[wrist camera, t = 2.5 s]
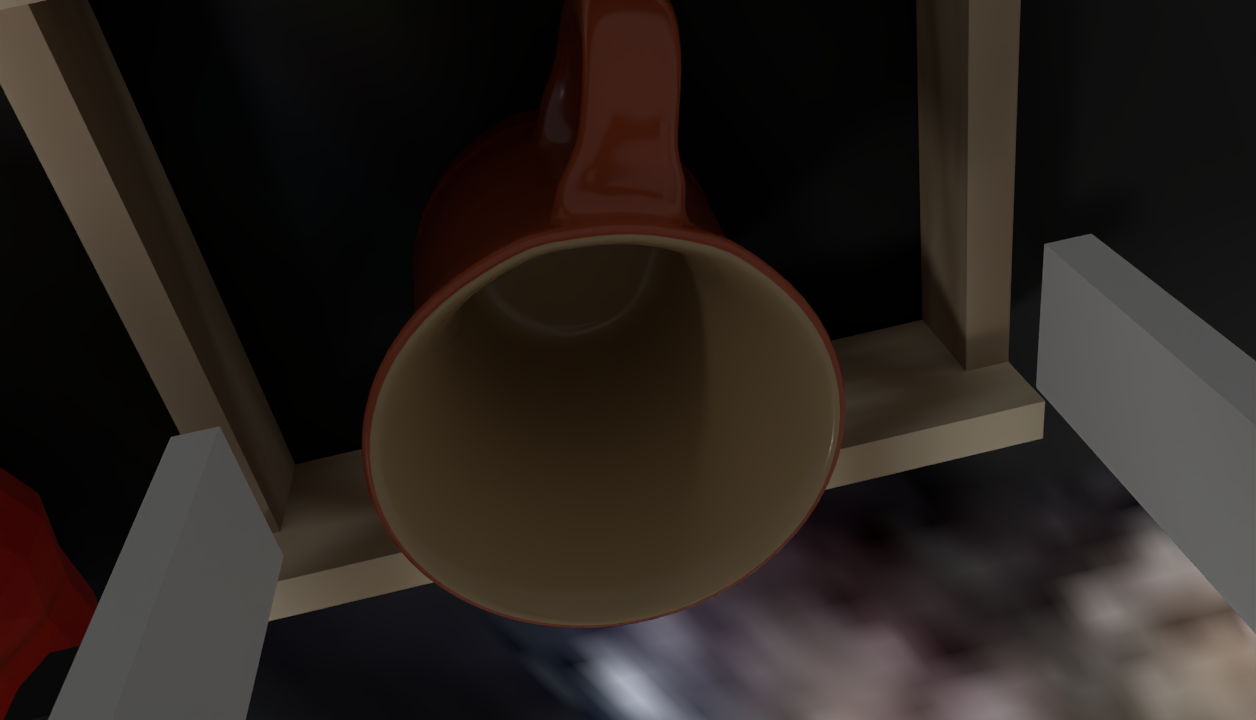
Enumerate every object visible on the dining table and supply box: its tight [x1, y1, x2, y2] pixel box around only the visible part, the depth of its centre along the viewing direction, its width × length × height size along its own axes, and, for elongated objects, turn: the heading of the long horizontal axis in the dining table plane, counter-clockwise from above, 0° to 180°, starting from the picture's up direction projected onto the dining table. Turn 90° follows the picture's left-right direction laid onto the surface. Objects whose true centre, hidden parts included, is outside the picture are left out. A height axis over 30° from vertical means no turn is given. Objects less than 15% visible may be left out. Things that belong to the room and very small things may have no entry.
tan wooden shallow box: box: [0, 0, 1045, 621], centre depth 24 cm, size 21×16×5 cm
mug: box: [362, 0, 846, 628], centre depth 21 cm, size 12×9×10 cm
